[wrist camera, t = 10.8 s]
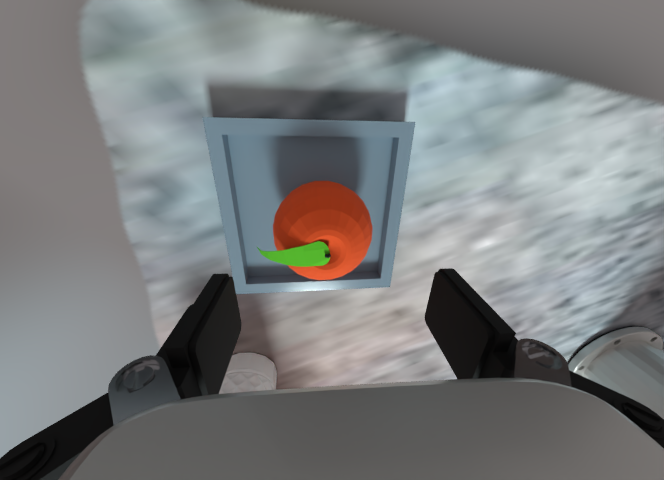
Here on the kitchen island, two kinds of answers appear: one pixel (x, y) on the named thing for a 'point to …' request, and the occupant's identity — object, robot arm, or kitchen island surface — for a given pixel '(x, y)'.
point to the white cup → (249, 374)
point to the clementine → (321, 231)
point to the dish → (295, 170)
